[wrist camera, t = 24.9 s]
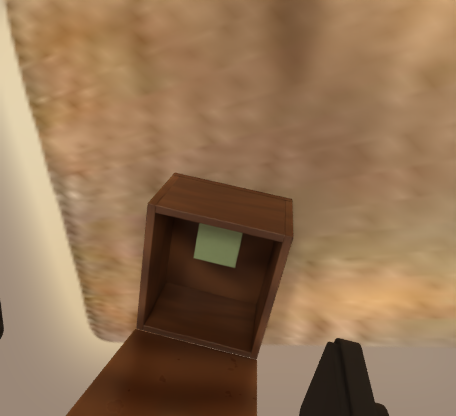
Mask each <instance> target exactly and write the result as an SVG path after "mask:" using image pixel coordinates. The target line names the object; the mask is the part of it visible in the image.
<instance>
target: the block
mask: <svg viewBox="0 0 456 416" xmlns="http://www.w3.org/2000/svg"><path fill="white" fill-rule="evenodd" d="M242 235H243V233H240V232H236V231H232V230H227V229H223V228H219V227H215V226H210V225H206V224H202V223H199V227H198V233H197V240H196V246H195V252H194V258H195V259H199V260H204V261H208V262H212V263H216V264H220V265H224V266H229V267H233V268H235V265H236V261H237V257H238V253H239V249H240V244H241V240H242Z"/></svg>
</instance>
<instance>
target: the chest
mask: <svg viewBox="0 0 456 416" xmlns="http://www.w3.org/2000/svg"><path fill="white" fill-rule="evenodd" d="M199 223H202V224H206V225H210V226H215V227H219V228H223V229H227V230H232V231H236V232H240V233H243V235H242V240H241V244H240V249H239V253H238V257H237V261H236V265H235V268H233V267H229V266H224V265H220V264H216V263H212V262H208V261H204V260H199V259H195V258H194V252H195V246H196V240H197V233H198V227H199ZM292 240H293V212H292V199H289V198H284V197H280V196H275V195H271V194H267V193H262V192H258V191H253V190H249V189H245V188H240V187H236V186H231V185H227V184H222V183H218V182H214V181H209V180H205V179H200V178H196V177H191V176H187V175H183V174H178V173H174V174H173V175H172V177H171V178H170V179H169V180H168V181H167V182H166V183H165V185H164V186H163V187H162V188H161V189H160V190H159V191H158V193H157V194H156V195H155V196H154V197H153V198H152V199H151V200H150V202H149V203H148V206H147V217H146V228H145V239H144V250H143V262H142V273H141V284H140V295H139V306H138V317H137V329H139V330H144V331H147V332H151V333H155V334H159V335H163V336H166V337H170V338H174V339H178V340H182V341H186V342H190V343H194V344H198V345H202V346H206V347H210V348H214V349H217V350H221V351H225V352H229V353H233V354H237V355H241V356H245V357H250V358H253V359H257V356H258V353H259V349H260V346H261V343H262V340H263V336H264V333H265V330H266V326H267V323H268V320H269V317H270V313H271V310H272V307H273V303H274V300H275V297H276V293H277V290H278V287H279V283H280V280H281V277H282V273H283V270H284V267H285V263H286V260H287V257H288V253H289V250H290V247H291V243H292Z"/></svg>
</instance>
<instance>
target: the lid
mask: <svg viewBox="0 0 456 416" xmlns="http://www.w3.org/2000/svg"><path fill="white" fill-rule="evenodd" d="M66 416H257V360H255V359H251V358H247V357H243V356H239V355H236V354H232V353H228V352H224V351H220V350H216V349H212V348H208V347H204V346H200V345H196V344H192V343H188V342H185V341H181V340H177V339H173V338H169V337H165V336H161V335H157V334H153V333H149V332H145V331H141V330H137V329H135V330H134V331H133V332H132V334H131V335H130V336H129V337H128V339H127V340H126V341H125V342H124V344H123V345H122V346H121V348H120V349H119V350H118V351H117V352H116V354H115V355H114V356H113V358H112V359H111V360H110V361H109V362H108V364H107V365H106V366H105V367H104V369H103V370H102V371H101V372H100V374H99V375H98V376H97V377H96V379H95V380H94V381H93V383H92V384H91V385H90V386H89V387H88V389H87V390H86V391H85V393H84V394H83V395H82V396H81V397H80V399H79V400H78V401H77V402H76V404H75V405H74V406H73V407H72V409H71V410H70V411H69V412H68V414H67V415H66Z"/></svg>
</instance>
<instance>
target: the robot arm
mask: <svg viewBox="0 0 456 416" xmlns="http://www.w3.org/2000/svg"><path fill="white" fill-rule="evenodd" d="M3 331H4V327H3V319H2V311H1V303H0V339H1V337H2V335H3ZM299 416H389V414H388V412H387V409H386V408H385V406H384V405H382V404H379V403H375V401H374V397H373V393H372V389H371V385H370V380H369V377H368V372H367V368H366V364H365V360H364V356H363V352H362V348H361V345H360V344H359V343H356V342H352V341H348V340H344V339H340V338H337V339H336V340H335V341H334V343H332V342H328V343H327V345H326V347H325V350H324V352H323V354H322V357H321V359H320V361H319V364H318V367H317V369H316V371H315V374H314V376H313V379H312V381H311V383H310V386H309V388H308V391H307V393H306V396H305V398H304V401H303V403H302V405H301V409H300V414H299Z"/></svg>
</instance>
